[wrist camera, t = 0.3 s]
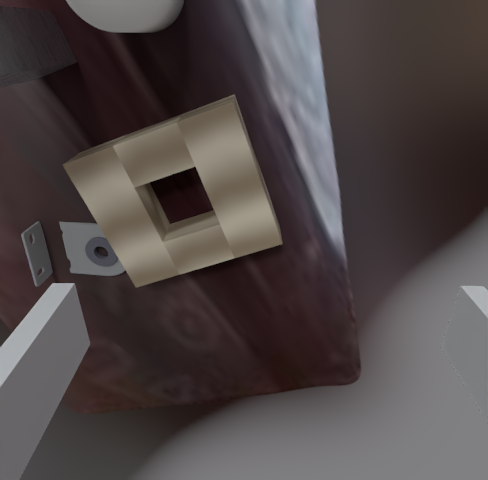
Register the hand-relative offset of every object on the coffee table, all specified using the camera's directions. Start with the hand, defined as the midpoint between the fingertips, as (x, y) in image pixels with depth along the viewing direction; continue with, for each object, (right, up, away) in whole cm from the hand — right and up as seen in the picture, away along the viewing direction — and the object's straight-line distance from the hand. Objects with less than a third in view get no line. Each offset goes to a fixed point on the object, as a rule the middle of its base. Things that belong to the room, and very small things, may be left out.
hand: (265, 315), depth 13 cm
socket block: (-7, +8, +25) cm, 27 cm away
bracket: (-19, +2, +29) cm, 35 cm away
